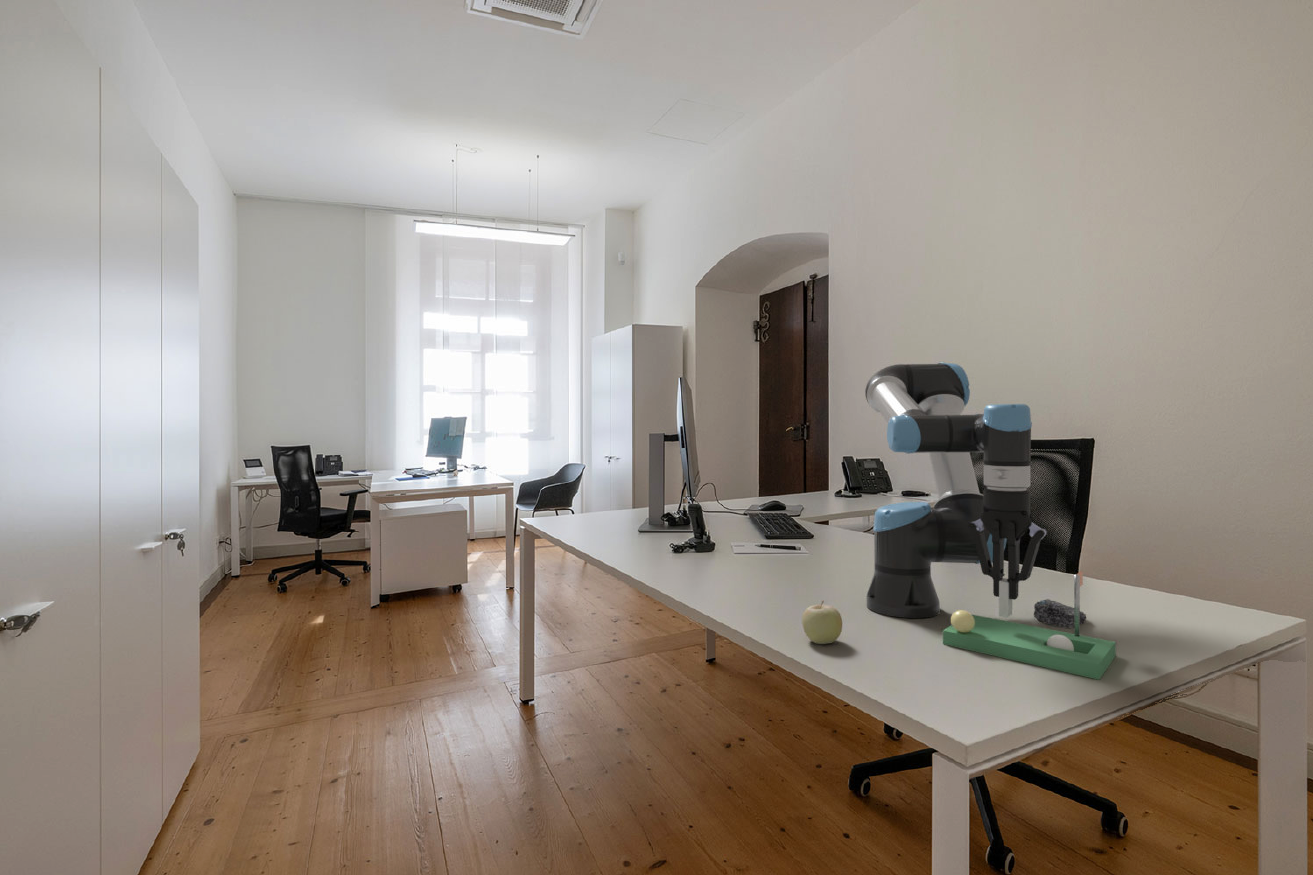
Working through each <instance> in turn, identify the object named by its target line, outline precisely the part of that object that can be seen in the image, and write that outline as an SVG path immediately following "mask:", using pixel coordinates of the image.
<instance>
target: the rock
mask: <svg viewBox="0 0 1313 875" xmlns="http://www.w3.org/2000/svg"><path fill="white" fill-rule="evenodd" d="M1033 609H1034V611H1033V616H1034V618H1035V619H1036V620H1037V621H1038V622H1042V623H1044V624H1049V625H1051V626H1054V627H1058V628H1064V629H1070V630H1071V629H1074V606H1073V607H1072V606H1069V605H1065V604H1063V603H1061V602H1059V601H1056V600H1051V599H1049V598H1046V599H1042V600H1040V601H1037V602H1036V603H1034V607H1033ZM1086 619H1087V615H1086V613H1084V612H1083V611H1081V610H1080V626H1081V625H1083V624H1085V622H1086Z"/></svg>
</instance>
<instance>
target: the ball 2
mask: <svg viewBox="0 0 1313 875" xmlns="http://www.w3.org/2000/svg"><path fill="white" fill-rule="evenodd" d="M1046 646H1050V647H1055V648H1060V649H1064V650H1069V651H1074V646H1073V644H1072V642H1071V641H1070V640H1069V639H1068V638H1067V637H1065V636H1063V635H1053V636H1051V637H1050V638H1049V639H1048V640H1047V644H1046Z"/></svg>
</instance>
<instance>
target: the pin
mask: <svg viewBox="0 0 1313 875" xmlns="http://www.w3.org/2000/svg"><path fill="white" fill-rule="evenodd" d="M1083 573H1084V572H1083V571H1081V570H1080V571H1079V572H1077V573H1076V574H1074V575H1073V577H1074V578H1073V582H1074V584H1073V588H1074V591H1073V594H1074V595H1073V596H1074V600H1073V602H1074V605H1073V608H1074V628H1073V629H1074V632H1073V634H1074V636H1077V637H1079V636H1080V635H1081V628H1080V627H1081V625H1080V611H1081V608H1080V607H1081V605H1080V600H1081V596H1080V595H1081V594H1080V593H1081V588H1080V587H1082V586H1083V584H1084V582H1083V581H1084V580H1083V579H1084V578H1083V576H1084V575H1083Z"/></svg>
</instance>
